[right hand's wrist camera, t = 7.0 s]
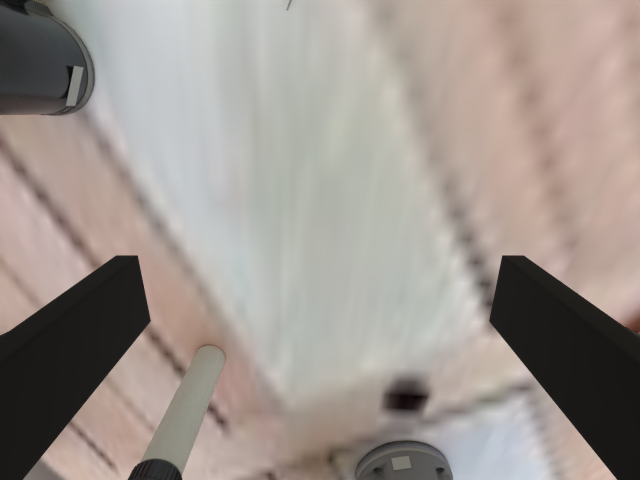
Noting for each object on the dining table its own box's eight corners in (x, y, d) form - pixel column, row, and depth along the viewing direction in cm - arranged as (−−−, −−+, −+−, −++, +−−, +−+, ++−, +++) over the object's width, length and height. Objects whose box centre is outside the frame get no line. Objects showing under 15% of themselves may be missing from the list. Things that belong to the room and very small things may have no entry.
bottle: (226, 347, 47) (173, 480, 30) (224, 370, 49) (173, 510, 32) (196, 343, 47) (126, 475, 30) (195, 367, 49) (127, 506, 31)
